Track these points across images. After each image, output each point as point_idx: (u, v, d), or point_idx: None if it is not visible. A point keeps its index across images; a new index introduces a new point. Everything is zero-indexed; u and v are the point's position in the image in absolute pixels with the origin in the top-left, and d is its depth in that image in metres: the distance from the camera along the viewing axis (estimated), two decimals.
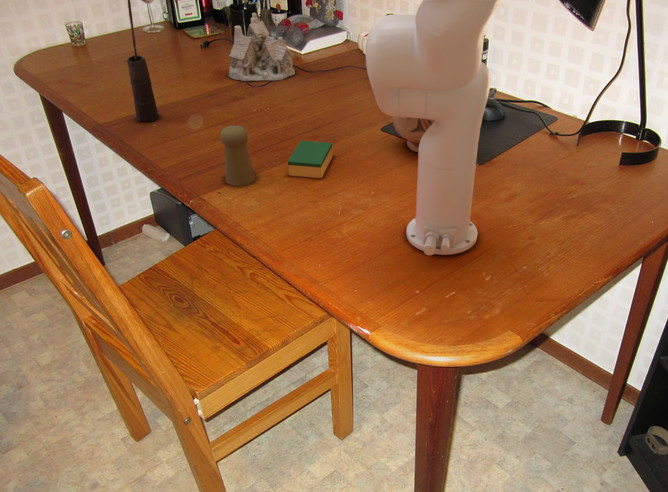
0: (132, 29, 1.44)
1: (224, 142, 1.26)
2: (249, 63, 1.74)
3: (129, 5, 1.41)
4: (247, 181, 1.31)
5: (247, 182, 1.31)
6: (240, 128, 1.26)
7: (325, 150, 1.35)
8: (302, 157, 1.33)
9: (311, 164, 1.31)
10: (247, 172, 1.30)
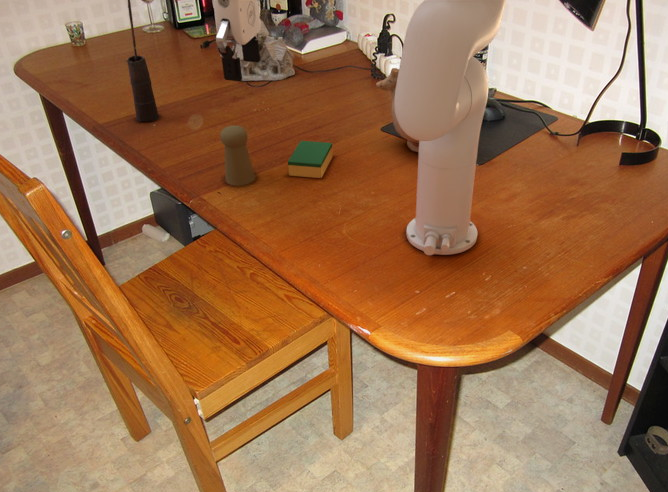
0: (132, 29, 1.44)
1: (224, 142, 1.26)
2: (249, 63, 1.74)
3: (129, 5, 1.41)
4: (247, 181, 1.31)
5: (247, 182, 1.31)
6: (240, 128, 1.26)
7: (325, 150, 1.35)
8: (302, 157, 1.33)
9: (311, 164, 1.31)
10: (247, 172, 1.30)
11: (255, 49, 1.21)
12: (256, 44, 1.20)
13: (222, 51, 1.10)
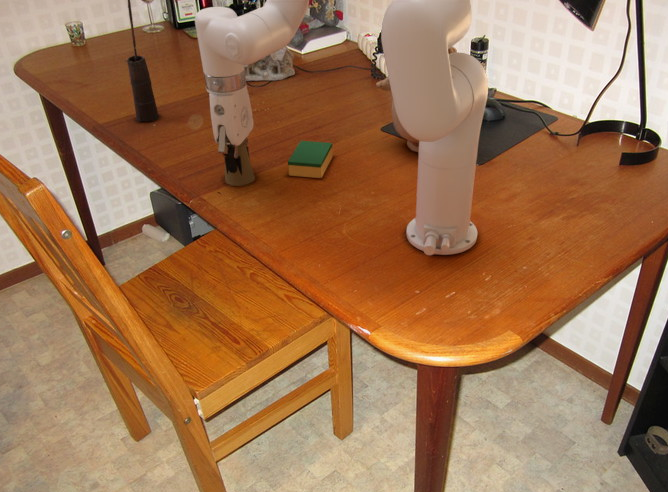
0: (132, 29, 1.44)
1: None
2: None
3: (129, 5, 1.41)
4: (247, 181, 1.31)
5: (247, 182, 1.31)
6: None
7: (325, 150, 1.35)
8: (302, 157, 1.33)
9: (311, 164, 1.31)
10: (247, 172, 1.30)
11: None
12: None
13: (225, 154, 1.24)
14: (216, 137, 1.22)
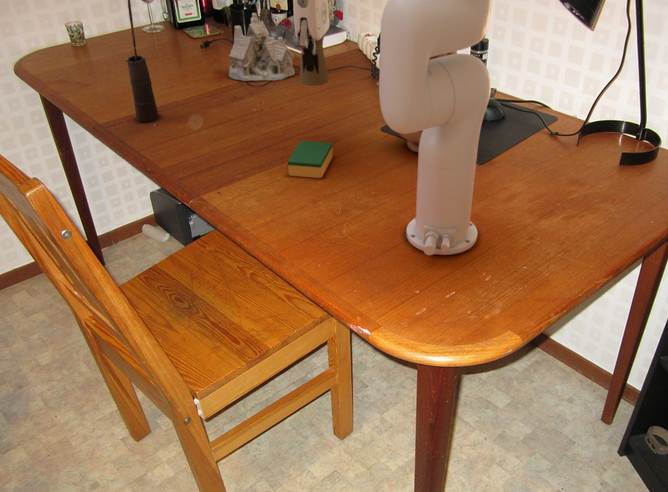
0: (132, 29, 1.44)
1: None
2: (249, 63, 1.74)
3: (129, 5, 1.41)
4: (322, 81, 1.33)
5: (322, 82, 1.34)
6: None
7: (325, 150, 1.35)
8: (302, 157, 1.33)
9: (311, 164, 1.31)
10: (323, 72, 1.33)
11: None
12: None
13: (305, 49, 1.27)
14: (297, 31, 1.25)
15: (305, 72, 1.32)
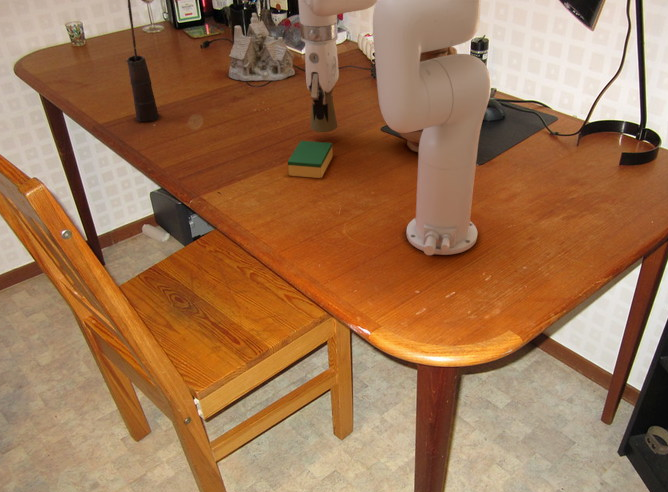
0: (132, 29, 1.44)
1: None
2: (249, 63, 1.74)
3: (129, 5, 1.41)
4: (331, 128, 1.42)
5: (331, 129, 1.42)
6: None
7: (325, 150, 1.35)
8: (302, 157, 1.33)
9: (311, 164, 1.31)
10: (332, 119, 1.41)
11: None
12: None
13: (316, 100, 1.35)
14: (309, 84, 1.33)
15: (315, 120, 1.40)
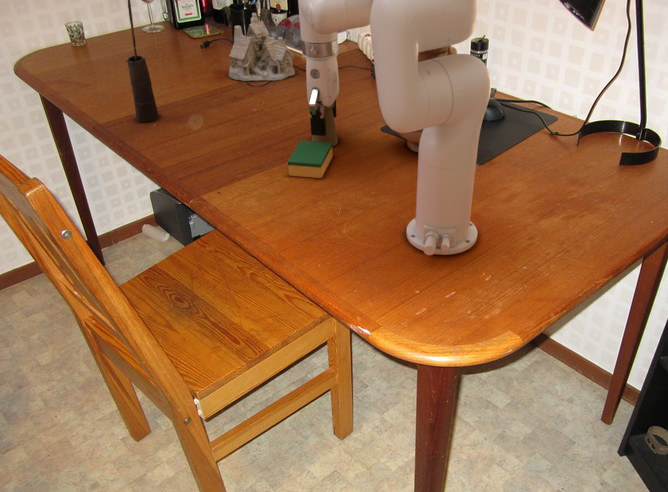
0: (132, 29, 1.44)
1: None
2: (249, 63, 1.74)
3: (129, 5, 1.41)
4: (332, 143, 1.44)
5: (332, 144, 1.44)
6: None
7: (325, 150, 1.35)
8: (302, 157, 1.33)
9: (311, 164, 1.31)
10: (333, 135, 1.43)
11: (333, 107, 1.45)
12: (334, 103, 1.45)
13: (313, 113, 1.34)
14: (310, 99, 1.35)
15: (316, 135, 1.43)
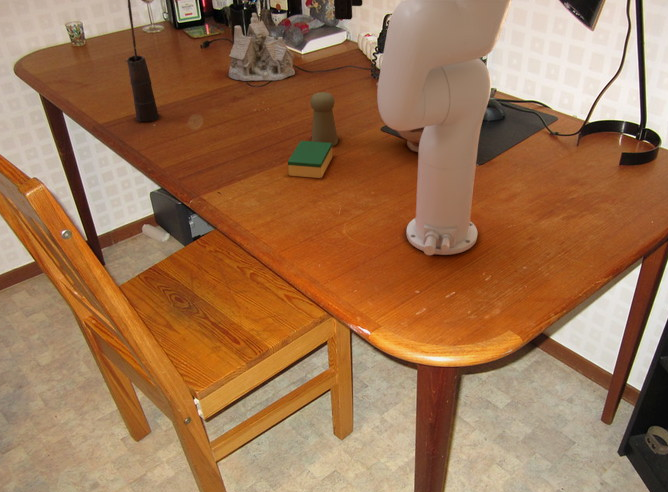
0: (132, 29, 1.44)
1: (314, 107, 1.39)
2: (249, 63, 1.74)
3: (129, 5, 1.41)
4: (332, 143, 1.44)
5: (332, 144, 1.44)
6: (328, 94, 1.39)
7: (325, 150, 1.35)
8: (302, 157, 1.33)
9: (311, 164, 1.31)
10: (333, 135, 1.43)
11: None
12: None
13: None
14: None
15: (316, 135, 1.43)
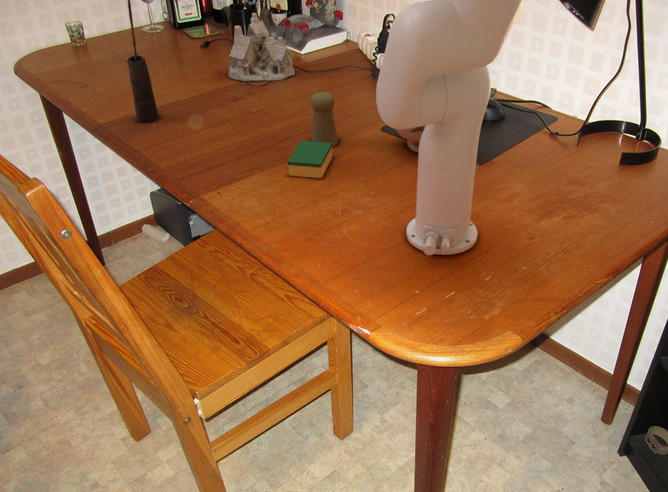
0: (132, 29, 1.44)
1: (314, 107, 1.39)
2: (249, 63, 1.74)
3: (129, 5, 1.41)
4: (332, 143, 1.44)
5: (332, 144, 1.44)
6: (329, 94, 1.39)
7: (325, 150, 1.35)
8: (302, 157, 1.33)
9: (311, 164, 1.31)
10: (333, 135, 1.43)
11: None
12: None
13: None
14: None
15: (316, 135, 1.43)
